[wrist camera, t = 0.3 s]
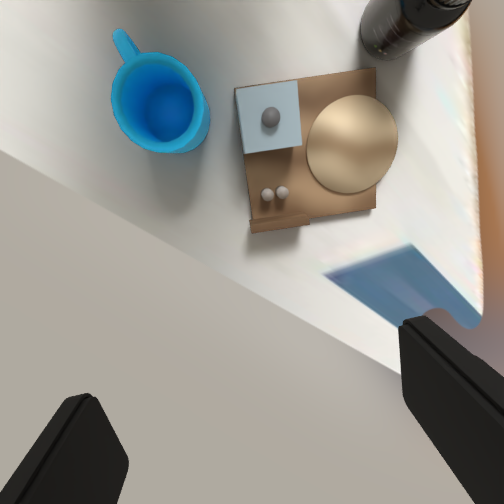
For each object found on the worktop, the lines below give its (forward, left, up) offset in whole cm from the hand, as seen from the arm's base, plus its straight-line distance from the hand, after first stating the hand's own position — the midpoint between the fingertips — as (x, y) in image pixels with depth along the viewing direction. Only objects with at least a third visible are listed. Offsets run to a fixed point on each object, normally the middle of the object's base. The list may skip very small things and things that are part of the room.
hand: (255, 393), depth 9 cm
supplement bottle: (-18, +20, -31) cm, 41 cm away
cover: (-10, +5, -29) cm, 31 cm away
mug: (-14, -6, -31) cm, 34 cm away
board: (-6, +10, -30) cm, 32 cm away
